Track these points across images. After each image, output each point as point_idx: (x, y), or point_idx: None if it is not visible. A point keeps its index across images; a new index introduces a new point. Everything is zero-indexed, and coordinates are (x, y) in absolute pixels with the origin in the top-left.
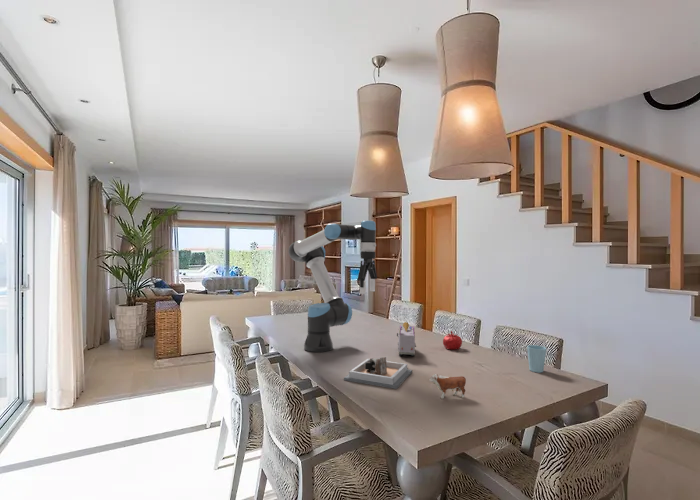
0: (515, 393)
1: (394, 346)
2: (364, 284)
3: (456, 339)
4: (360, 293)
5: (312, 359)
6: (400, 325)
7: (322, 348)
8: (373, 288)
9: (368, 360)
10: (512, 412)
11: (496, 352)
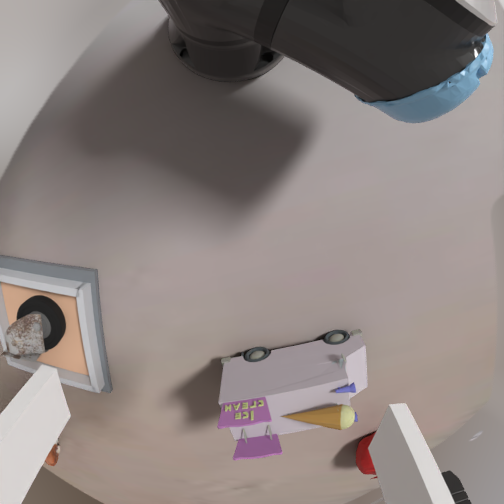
0: (117, 493)
1: (371, 307)
2: (9, 483)
3: (363, 472)
4: (43, 375)
5: (87, 83)
6: (268, 421)
7: (181, 59)
8: (380, 467)
9: (70, 295)
10: (56, 472)
11: (353, 495)
